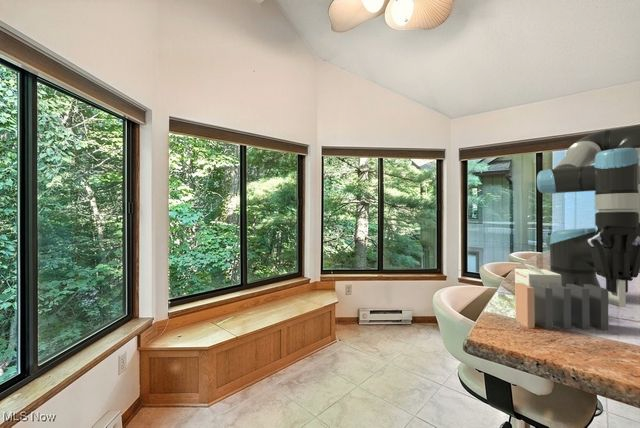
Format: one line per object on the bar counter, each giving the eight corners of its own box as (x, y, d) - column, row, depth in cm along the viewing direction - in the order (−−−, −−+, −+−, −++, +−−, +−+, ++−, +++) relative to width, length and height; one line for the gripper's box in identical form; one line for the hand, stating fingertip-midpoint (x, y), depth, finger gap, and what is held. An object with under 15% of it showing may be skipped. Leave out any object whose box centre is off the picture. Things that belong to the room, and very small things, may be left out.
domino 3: (555, 321, 73) (555, 283, 73) (571, 329, 68) (570, 288, 68) (549, 321, 73) (549, 283, 73) (563, 329, 68) (563, 288, 68)
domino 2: (538, 320, 74) (538, 283, 74) (552, 328, 69) (552, 288, 69) (532, 320, 74) (532, 283, 74) (545, 328, 69) (545, 288, 69)
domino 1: (521, 320, 74) (521, 283, 74) (534, 328, 69) (534, 288, 69) (515, 320, 74) (515, 282, 74) (527, 327, 69) (527, 287, 69)
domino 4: (573, 321, 73) (572, 283, 73) (589, 329, 68) (589, 289, 68) (566, 321, 73) (566, 283, 73) (582, 329, 68) (582, 288, 68)
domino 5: (590, 322, 72) (590, 284, 72) (608, 330, 67) (608, 289, 67) (583, 322, 73) (583, 284, 73) (601, 330, 68) (600, 289, 68)
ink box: (563, 317, 76) (563, 268, 76) (529, 315, 78) (528, 267, 78) (545, 306, 85) (544, 263, 85) (514, 305, 86) (514, 262, 86)
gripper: (629, 211, 73) (630, 301, 73) (575, 211, 74) (576, 299, 74) (662, 210, 65) (662, 311, 65) (601, 211, 66) (602, 309, 66)
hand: (616, 305), depth 69 cm, fingers closed
